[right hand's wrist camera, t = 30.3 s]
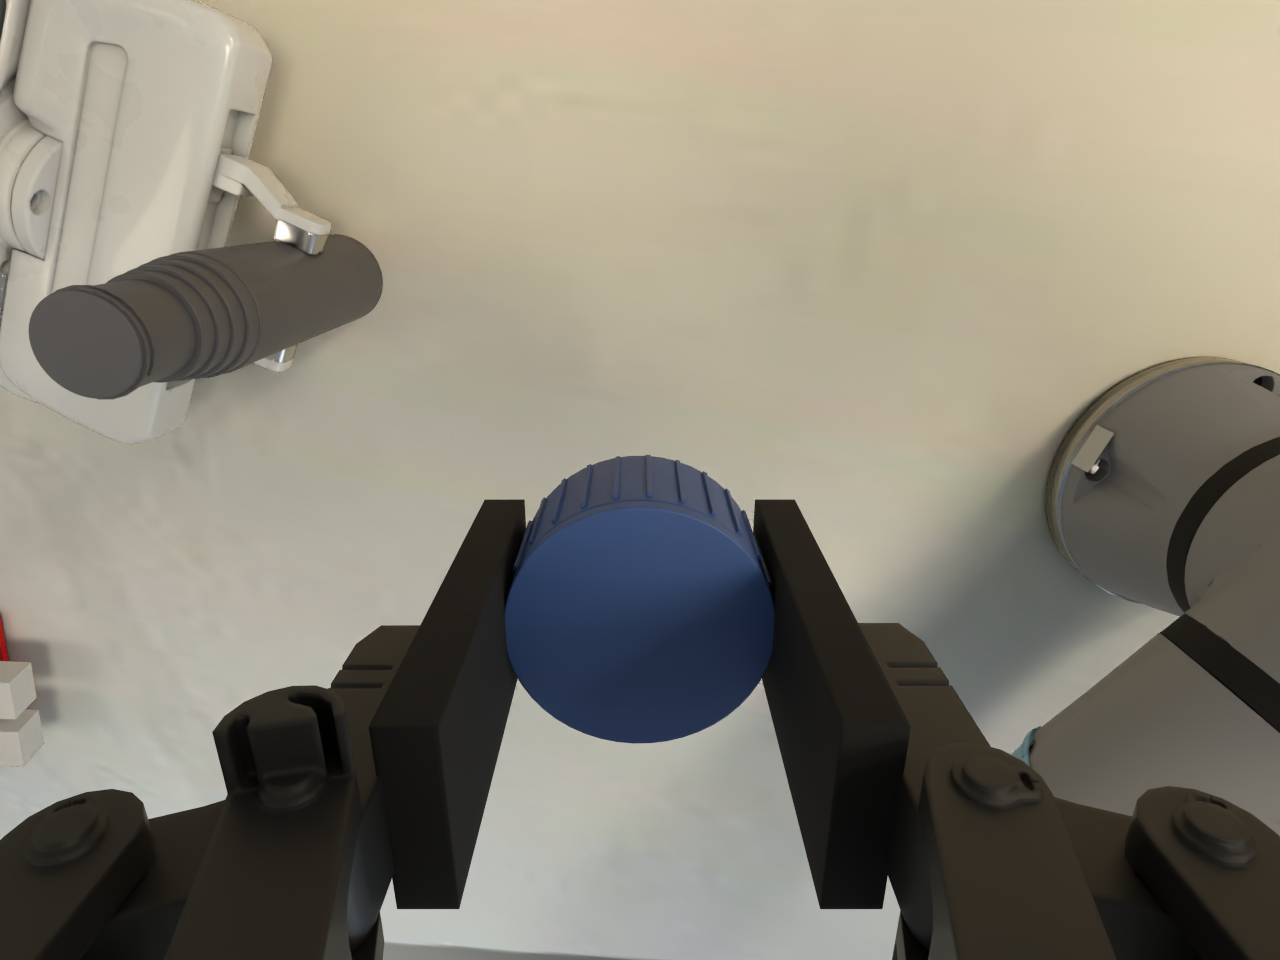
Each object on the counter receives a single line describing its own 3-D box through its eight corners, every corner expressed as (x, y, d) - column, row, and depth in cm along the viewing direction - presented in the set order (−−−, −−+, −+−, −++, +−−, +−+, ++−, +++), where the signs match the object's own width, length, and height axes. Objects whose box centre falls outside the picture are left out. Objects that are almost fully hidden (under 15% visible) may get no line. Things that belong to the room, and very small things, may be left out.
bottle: (377, 328, 42) (160, 435, 23) (295, 307, 42) (7, 399, 23) (388, 246, 41) (165, 289, 22) (303, 224, 41) (1, 248, 21)
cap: (792, 492, 14) (823, 551, 12) (710, 687, 16) (722, 773, 13) (558, 421, 14) (541, 468, 11) (497, 630, 15) (470, 708, 13)
